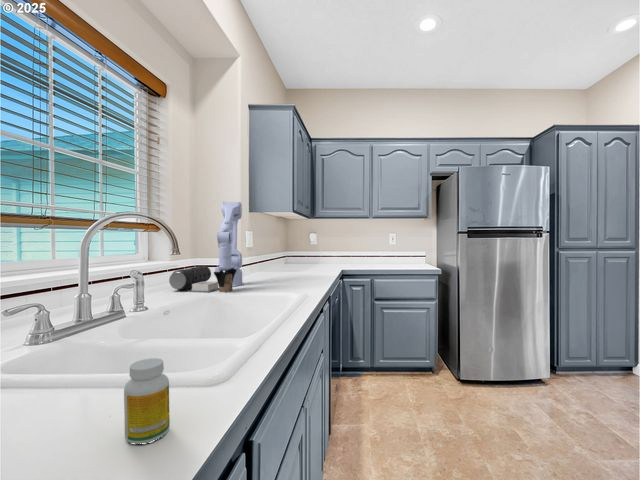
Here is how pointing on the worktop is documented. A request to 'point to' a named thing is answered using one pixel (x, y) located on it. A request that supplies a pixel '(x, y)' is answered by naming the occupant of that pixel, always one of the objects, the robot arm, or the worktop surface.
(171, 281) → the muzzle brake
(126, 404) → the supplement bottle
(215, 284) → the socket block
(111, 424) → the worktop surface
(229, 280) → the walnut plug
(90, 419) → the worktop surface
